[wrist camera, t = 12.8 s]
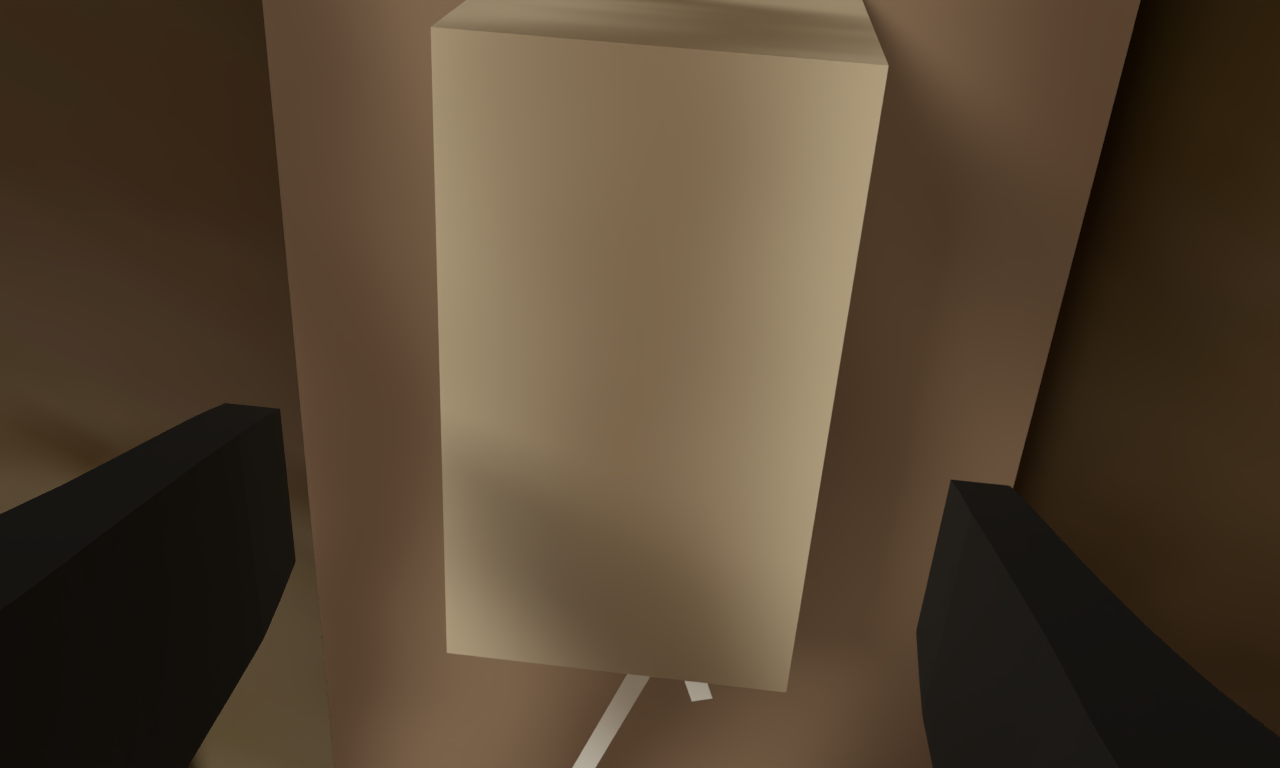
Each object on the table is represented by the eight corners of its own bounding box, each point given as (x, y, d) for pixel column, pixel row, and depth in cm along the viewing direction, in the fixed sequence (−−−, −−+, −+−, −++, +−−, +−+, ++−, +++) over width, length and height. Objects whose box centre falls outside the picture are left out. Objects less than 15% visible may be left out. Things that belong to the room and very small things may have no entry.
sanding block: (513, 470, 21) (446, 652, 17) (517, -40, 17) (430, 27, 13) (782, 499, 21) (786, 692, 17) (856, -13, 17) (888, 65, 12)
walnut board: (371, 915, 30) (352, 967, 29) (284, -178, 18) (245, -174, 16) (865, 980, 29) (869, 1037, 28) (1137, -114, 17) (1168, -105, 16)
